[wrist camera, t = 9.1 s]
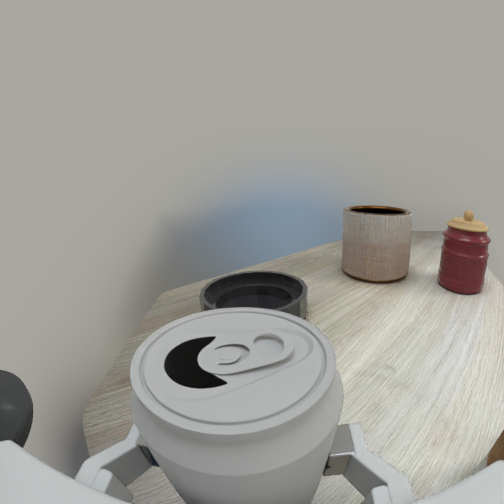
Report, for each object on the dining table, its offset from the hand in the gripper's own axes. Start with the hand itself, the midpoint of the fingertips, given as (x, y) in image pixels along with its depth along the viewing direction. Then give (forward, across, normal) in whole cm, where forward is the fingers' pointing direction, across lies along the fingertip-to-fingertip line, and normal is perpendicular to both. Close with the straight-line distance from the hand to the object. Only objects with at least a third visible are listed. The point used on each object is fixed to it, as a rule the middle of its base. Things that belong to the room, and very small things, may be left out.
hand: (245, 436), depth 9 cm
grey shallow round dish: (+37, +3, +14) cm, 39 cm away
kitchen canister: (+42, -46, +14) cm, 64 cm away
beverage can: (-1, 0, +7) cm, 7 cm away
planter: (+56, -27, +14) cm, 63 cm away
